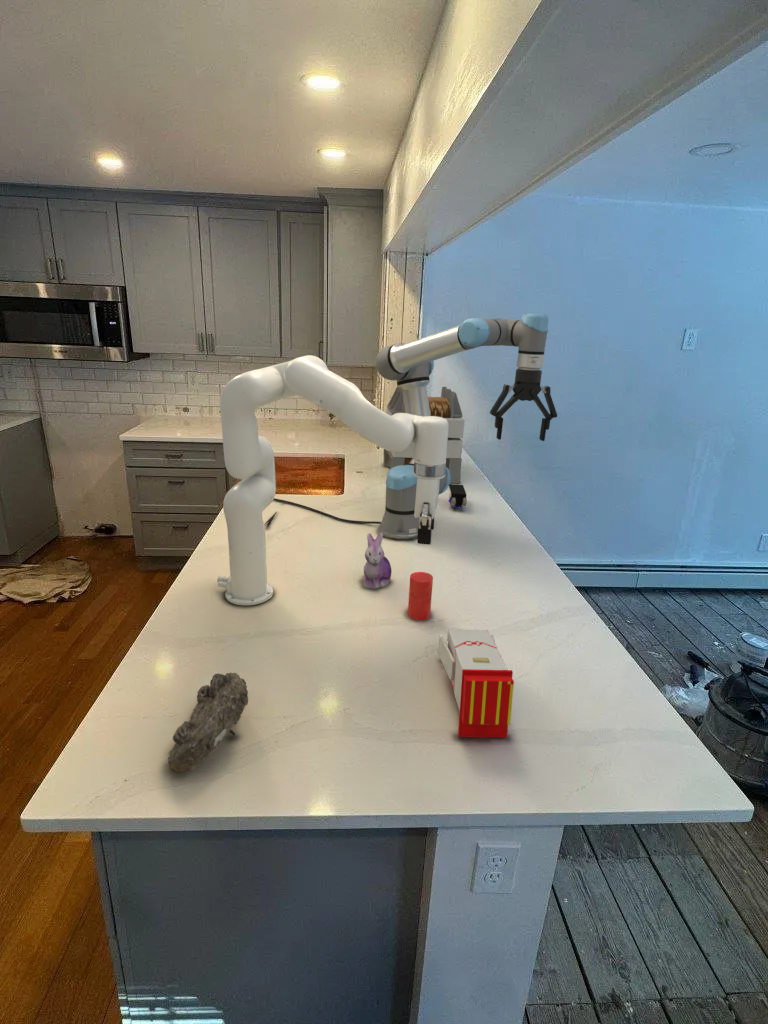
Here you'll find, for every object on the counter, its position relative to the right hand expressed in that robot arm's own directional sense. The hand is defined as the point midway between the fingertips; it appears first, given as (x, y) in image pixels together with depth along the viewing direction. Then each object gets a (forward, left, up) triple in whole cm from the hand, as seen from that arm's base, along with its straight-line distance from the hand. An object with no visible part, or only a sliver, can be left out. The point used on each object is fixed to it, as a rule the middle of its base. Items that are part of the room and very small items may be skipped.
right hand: (520, 439), depth 175 cm
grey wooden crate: (-86, +43, -38) cm, 103 cm away
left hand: (+12, -51, -16) cm, 55 cm away
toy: (+41, -65, -38) cm, 86 cm away
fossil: (+20, -112, -38) cm, 120 cm away
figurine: (-9, -49, -38) cm, 63 cm away
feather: (-73, -45, -38) cm, 94 cm away
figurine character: (-42, +21, -38) cm, 61 cm away
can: (+12, -51, -38) cm, 65 cm away
